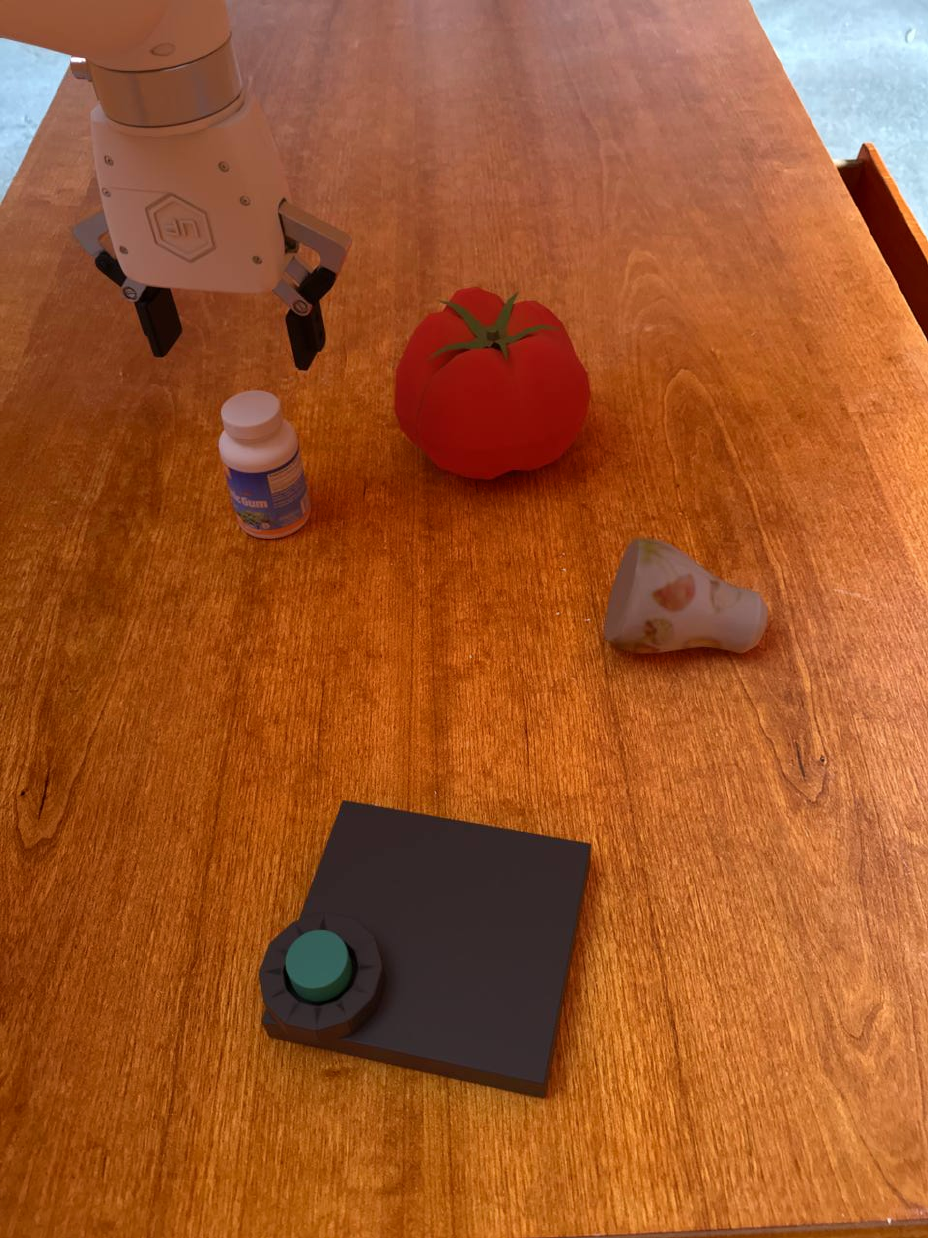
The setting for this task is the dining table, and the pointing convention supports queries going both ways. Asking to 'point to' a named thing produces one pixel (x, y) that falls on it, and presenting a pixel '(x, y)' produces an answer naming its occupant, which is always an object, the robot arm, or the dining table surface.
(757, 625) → the white floral vase
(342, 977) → the button
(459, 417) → the tomato
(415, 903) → the scale
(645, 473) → the dining table surface
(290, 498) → the pill bottle
